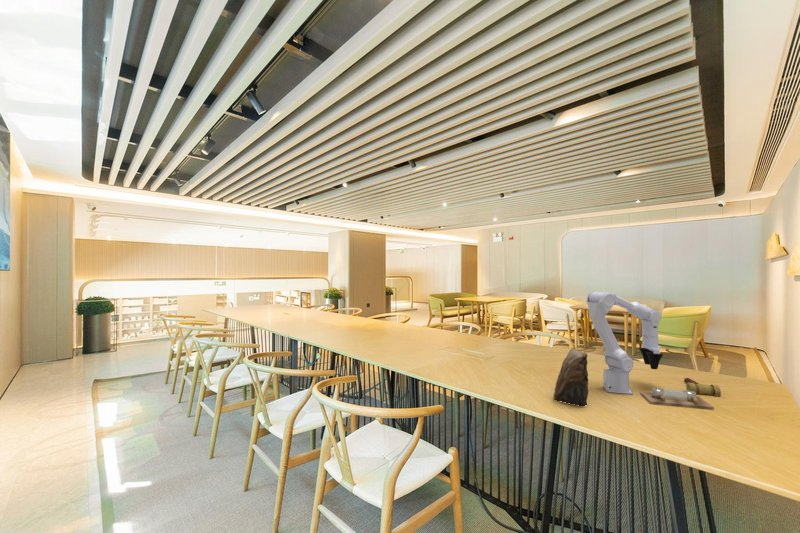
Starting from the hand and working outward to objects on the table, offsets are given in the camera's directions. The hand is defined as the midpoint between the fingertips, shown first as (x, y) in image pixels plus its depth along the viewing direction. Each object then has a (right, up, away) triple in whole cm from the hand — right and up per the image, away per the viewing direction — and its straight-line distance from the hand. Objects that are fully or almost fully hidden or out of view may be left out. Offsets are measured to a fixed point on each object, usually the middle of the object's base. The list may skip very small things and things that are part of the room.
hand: (650, 366), depth 151 cm
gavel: (+19, -10, 0) cm, 21 cm away
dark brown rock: (-42, -10, -13) cm, 45 cm away
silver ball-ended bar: (-2, -8, -16) cm, 18 cm away
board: (-2, -9, -16) cm, 18 cm away
